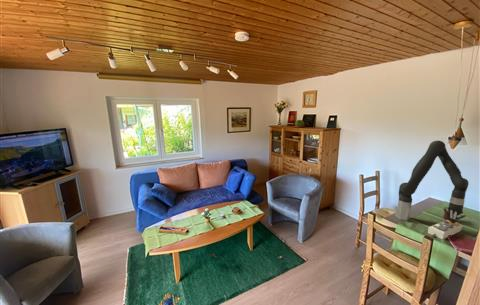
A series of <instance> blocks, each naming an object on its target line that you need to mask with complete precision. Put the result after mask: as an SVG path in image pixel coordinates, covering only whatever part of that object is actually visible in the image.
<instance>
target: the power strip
mask: <svg viewBox="0 0 480 305" xmlns="http://www.w3.org/2000/svg"><path fill="white" fill-rule="evenodd" d="M444 223H448V224H451V223H449V220H443V221H442V222H441V221H440V222H438V223H436V224H432V225H430V226H429V227H428V228H427V233H428V234H429V235H431V237H432V238H433V237H436V238H438V239H441V240H444V239H446V238H449V237H448V235H451V236H453V235H455V234H457V233H459V232H462V229H463V224H460V223H459V225H453V224H451V225H453V226H454V227H453V228H451V227H448V229H446V230H445V231H441V230H439V229H437V227H438V226H440V225H441V224H444Z"/></svg>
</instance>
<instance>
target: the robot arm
mask: <svg viewBox="0 0 480 305" xmlns="http://www.w3.org/2000/svg"><path fill="white" fill-rule="evenodd" d="M446 147H447V146H446V144H445V142H443V141H441V140H433V141H431V142H430V143H429V146H428V148H427V150H426V152H425V153H424V155H422V157H421V158H420V159H419V160H418V161H417V163H416V164H415V166H414V167H413V169H412V171H411V175H410V177H409V180H408V181H407V182H403V183H401V184H399V188H398V202H397V206H396V207H395V214H394V217H395V218H397V219H398V220H401V221H406V222H407V221H410V215H411V211H412V210H411V209H412V204H413V197H412V196H413V194H415V193H416V191H417V190H418V187H419V185H420V184H421V182H422V181H423V180H424V179H425V177H426V175H427V174H428V173H429V172H430V170H431V168H432V167H433V165H434V162H435V161H436V158H437V157H438V159H439V160H440V162H441V165H442V166H443V169H444V170H445V171H446V173H447V175H448V176H449V179H450V181H451V183H452V185H453V186H454V188H453V189H452V191H451V195H450V199H449V204H448V206H447V207H448V208H447V209H444V208H443V212H444V211H445V213H446V214H447V216H448V217H450V222H451V223H455V222H457V221H458V220H461V219H463V218H466V217H467V214H464V211H463V209H464V206H465V199H466V192H467V191H468V187H469V183H470V182H469V180H468V179H466V178H464V177H463V176H462V172H461V170H460V168H459V167H458V164H456V162H455V161H454V159H452V158H451V156H450V154H449V152H448V150H447V148H446ZM448 211H449V212H450V213H449V212H448Z"/></svg>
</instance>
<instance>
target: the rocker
mask: <svg viewBox="0 0 480 305" xmlns="http://www.w3.org/2000/svg"><path fill="white" fill-rule="evenodd" d="M437 229H439V230H441V231H445V230H446V229H448V226H446V225H443V224H441V225H440V226H438V227H437Z"/></svg>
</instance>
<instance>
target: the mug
mask: <svg viewBox="0 0 480 305" xmlns="http://www.w3.org/2000/svg"><path fill="white" fill-rule="evenodd" d="M448 207H449V206H444V207H443V215H442V217H443V219H444V221H446V220H449V221H450V217H448V216H447V214H446V213H445V211H444V209H447V208H448ZM448 212H449V211H448ZM449 213H450V212H449Z"/></svg>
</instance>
